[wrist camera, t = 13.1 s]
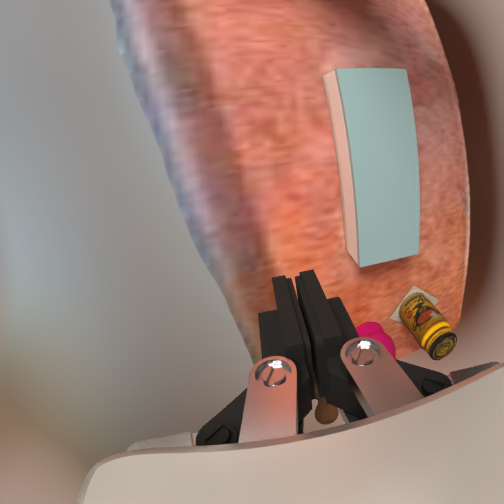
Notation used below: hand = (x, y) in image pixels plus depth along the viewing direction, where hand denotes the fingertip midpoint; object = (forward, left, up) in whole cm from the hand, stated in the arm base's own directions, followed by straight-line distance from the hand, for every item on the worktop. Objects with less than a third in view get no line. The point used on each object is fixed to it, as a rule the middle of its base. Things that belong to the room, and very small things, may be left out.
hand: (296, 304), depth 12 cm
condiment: (+27, +24, -27) cm, 45 cm away
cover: (0, +15, -22) cm, 27 cm away
